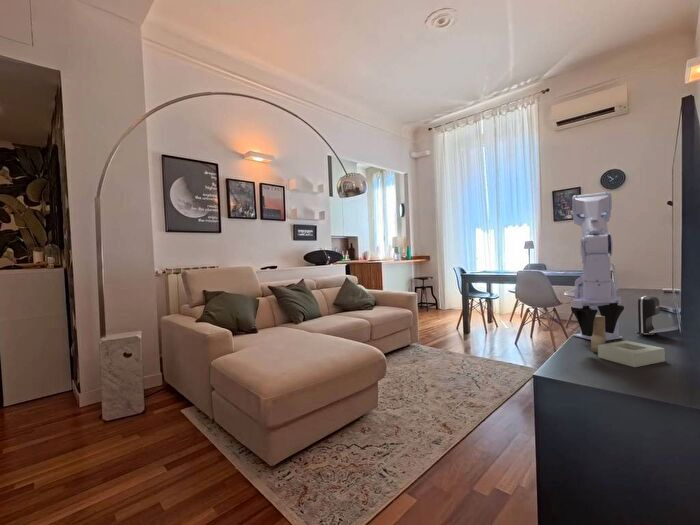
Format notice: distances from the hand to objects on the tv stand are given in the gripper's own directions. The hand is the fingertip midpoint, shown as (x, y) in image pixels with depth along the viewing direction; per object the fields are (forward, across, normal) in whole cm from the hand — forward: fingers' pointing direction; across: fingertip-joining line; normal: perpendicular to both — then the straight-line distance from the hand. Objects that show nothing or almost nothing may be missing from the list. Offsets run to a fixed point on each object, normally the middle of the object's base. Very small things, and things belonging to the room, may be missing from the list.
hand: (598, 334), depth 86 cm
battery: (+4, +29, +6) cm, 30 cm away
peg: (+4, 0, 0) cm, 5 cm away
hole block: (+4, 0, -7) cm, 9 cm away
